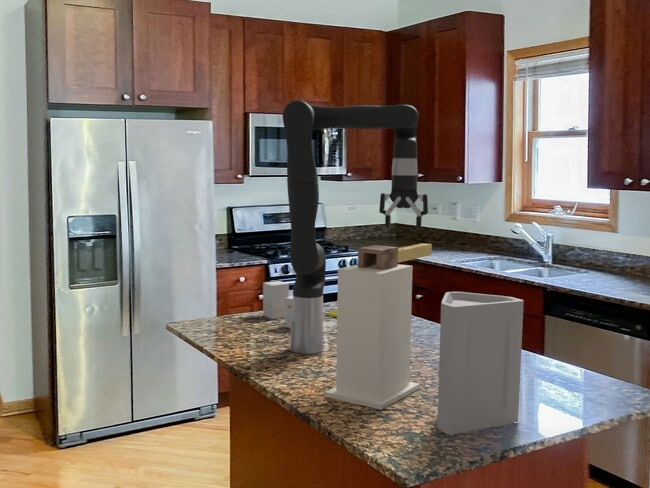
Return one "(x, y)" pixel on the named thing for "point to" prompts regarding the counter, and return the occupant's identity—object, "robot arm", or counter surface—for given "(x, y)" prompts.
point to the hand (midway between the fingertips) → (403, 228)
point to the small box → (288, 311)
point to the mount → (374, 330)
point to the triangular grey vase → (479, 361)
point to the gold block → (414, 252)
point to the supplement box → (274, 299)
